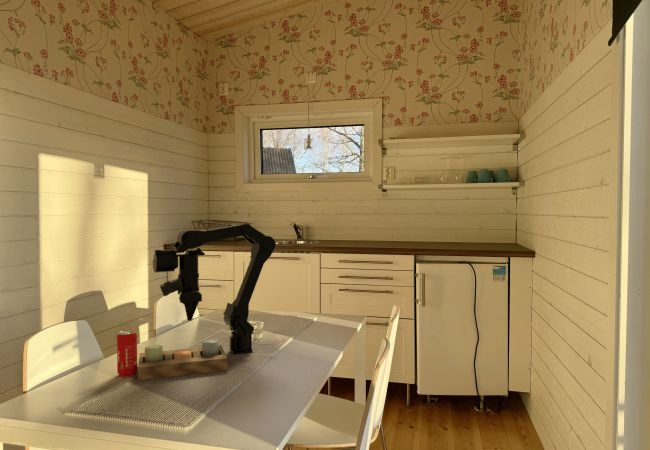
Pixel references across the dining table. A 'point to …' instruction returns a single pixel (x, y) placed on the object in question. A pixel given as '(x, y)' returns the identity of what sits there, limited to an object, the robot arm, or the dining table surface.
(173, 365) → the wooden compartment tray
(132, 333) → the beverage can
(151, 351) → the button sage
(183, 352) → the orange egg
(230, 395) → the dining table surface
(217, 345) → the sage green rounded cylinder
